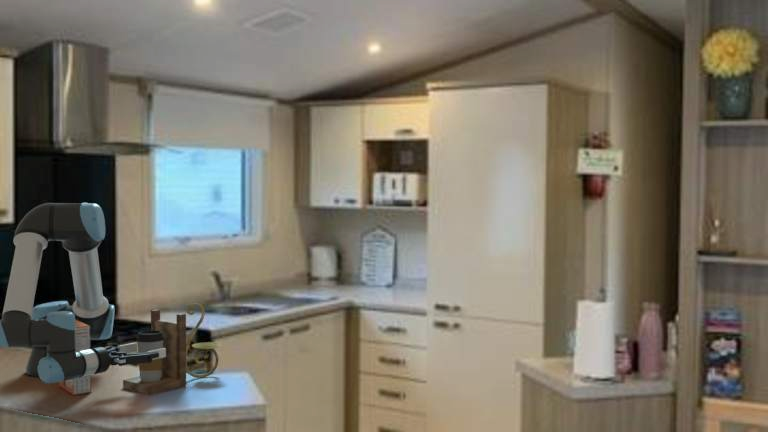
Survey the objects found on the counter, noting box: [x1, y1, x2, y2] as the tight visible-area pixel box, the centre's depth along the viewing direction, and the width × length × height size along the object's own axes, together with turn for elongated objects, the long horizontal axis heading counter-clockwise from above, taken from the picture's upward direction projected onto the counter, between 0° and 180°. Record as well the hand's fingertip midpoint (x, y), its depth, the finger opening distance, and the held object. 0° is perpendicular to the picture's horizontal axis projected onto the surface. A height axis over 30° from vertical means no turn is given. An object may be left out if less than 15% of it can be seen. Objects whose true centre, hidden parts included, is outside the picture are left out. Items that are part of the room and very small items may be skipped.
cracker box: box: [58, 319, 92, 396], centre depth 258 cm, size 14×6×21 cm, turn 38°
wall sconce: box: [186, 302, 222, 379], centre depth 275 cm, size 14×10×25 cm
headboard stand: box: [122, 309, 187, 396], centre depth 262 cm, size 14×13×23 cm
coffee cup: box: [136, 329, 164, 382], centre depth 261 cm, size 8×8×15 cm
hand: (150, 349), depth 261 cm, fingers open, 13 cm apart
